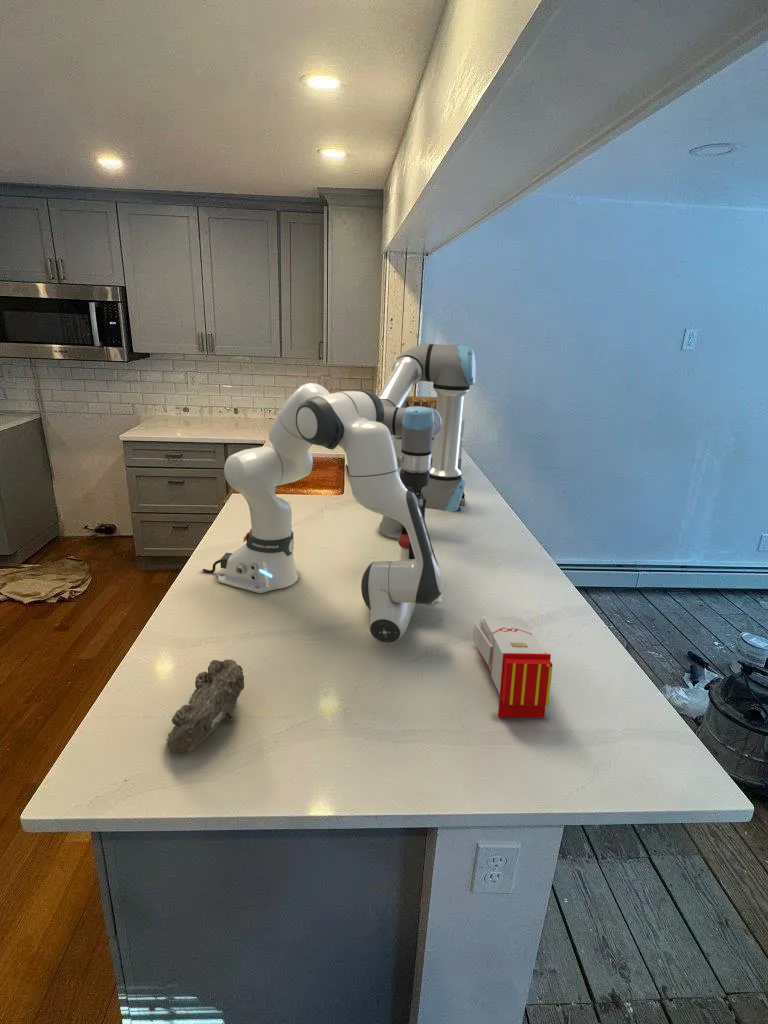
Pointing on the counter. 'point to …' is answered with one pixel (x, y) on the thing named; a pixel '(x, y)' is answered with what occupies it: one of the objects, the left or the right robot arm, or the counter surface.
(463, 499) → the figurine character
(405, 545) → the lid
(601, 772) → the counter surface
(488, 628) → the toy
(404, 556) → the jar
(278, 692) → the counter surface
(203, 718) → the fossil
